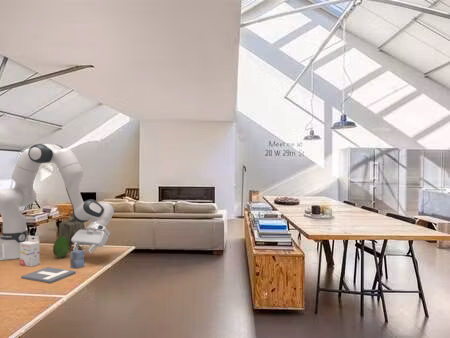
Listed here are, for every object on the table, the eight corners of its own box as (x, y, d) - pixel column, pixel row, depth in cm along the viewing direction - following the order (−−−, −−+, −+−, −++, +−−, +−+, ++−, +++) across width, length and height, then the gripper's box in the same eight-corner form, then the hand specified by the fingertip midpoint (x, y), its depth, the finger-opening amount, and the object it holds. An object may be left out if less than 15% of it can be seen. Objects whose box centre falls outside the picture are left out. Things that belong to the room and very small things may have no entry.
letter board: (21, 278, 142) (21, 276, 142) (47, 269, 156) (47, 266, 156) (50, 283, 136) (50, 281, 136) (75, 273, 150) (75, 271, 150)
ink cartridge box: (19, 265, 162) (19, 236, 162) (28, 262, 166) (28, 235, 166) (31, 266, 159) (31, 238, 159) (39, 264, 163) (40, 236, 163)
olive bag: (84, 249, 193) (84, 209, 193) (70, 252, 185) (71, 211, 185) (71, 246, 201) (71, 207, 201) (57, 249, 193) (57, 209, 193)
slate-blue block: (70, 267, 158) (70, 252, 158) (77, 265, 162) (77, 249, 162) (77, 268, 157) (77, 252, 157) (84, 266, 161) (84, 250, 161)
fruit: (69, 254, 181) (69, 234, 181) (67, 258, 174) (67, 237, 174) (54, 256, 179) (54, 235, 179) (51, 259, 171) (51, 238, 171)
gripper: (77, 224, 173) (62, 246, 163) (107, 227, 166) (93, 250, 157) (83, 231, 177) (69, 252, 168) (112, 234, 170) (100, 256, 161)
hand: (81, 251), depth 162 cm, fingers open, 8 cm apart
